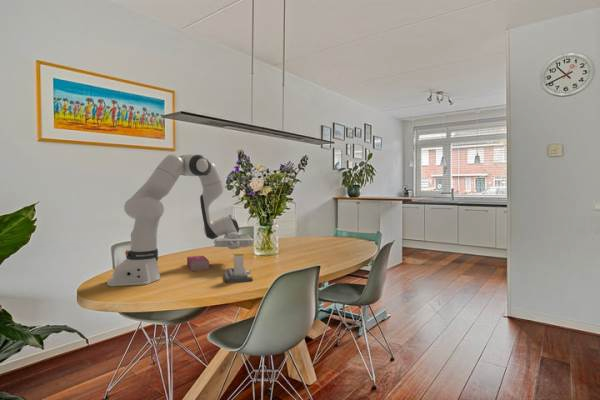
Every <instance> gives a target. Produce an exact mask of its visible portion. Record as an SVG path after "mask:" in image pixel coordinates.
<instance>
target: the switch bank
mask: <svg viewBox="0 0 600 400" xmlns="http://www.w3.org/2000/svg"><path fill="white" fill-rule="evenodd" d="M223 273H224V278H225V283H241V282H242V283H243V282H252V281H253V277H252V275H251V274H252V273H251V272H250V270H249V269H245V267H243V275H239V276H234V267H232V268H228V270H223Z"/></svg>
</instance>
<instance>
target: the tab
mask: <svg viewBox="0 0 600 400" xmlns="http://www.w3.org/2000/svg"><path fill="white" fill-rule="evenodd" d="M233 268H234V276H239V275H243V268H244V252H243V251H234V252H233Z"/></svg>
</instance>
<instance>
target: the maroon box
mask: <svg viewBox="0 0 600 400" xmlns="http://www.w3.org/2000/svg"><path fill="white" fill-rule="evenodd" d="M186 264H187V267H188V268H189V270H191V271H203V270H210V260H209V259H208V258H207V257H206V256H205V255H191V256H187V258H186Z"/></svg>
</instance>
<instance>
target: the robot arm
mask: <svg viewBox="0 0 600 400" xmlns="http://www.w3.org/2000/svg"><path fill="white" fill-rule="evenodd" d="M180 176H189V177H198V178H199V180H200V183H201V185H202V193H201V195H200V196H199V202H200V209H201V215H202V220H203V221H202V222H203V231H204V235H205V236H206V238H208V239H210V240H213V244H214V247H215V248H228V249H229V250H237V249H240V248H249V247H254V239H253V238H252V237H251V236H250V235H248V234H241V233H239V232H240V227H239V224H238V221H237V219H236V218H235V216H233V215H231V214H227V215H225V216H222V217H220V218H216V219H214V220H213V219H212V220H211V215H210V214H211V213H210V206H211V204H212V203H213V202H214V201H215V200H217V199H218V198H220V197H221V196H222V194H223V193H224V190H225V185H224V180H223V179H222V175H221V173H220V171H219V169H218V167H217V165H216V164H215V162H212V161H209V159H208V158H207V157H205V156H204V155H202V154H186V155H184V154H183V155H180V156H178V155H176V154H168V155H167V156H166V157H164V158H163V159H162V160H161V162H160V163H159V164H158V165H157V167H155V169H154V170H153V172H152V174H151V175H150V176H149V178H148V179H147V180H146V182H145V183H144V184H143V185H141V187H140V188H139V189H138V190H137V191H136V192H134V194H133V195H132V196H131V197H130V198H128V199H126V201H125V202H124V206H123V208H124V212H125V214H126V215H127V216H128V217H130V218H131V219H134V224H133V229H132V231H131V232H130V249H128V250H126V251H124V254H125V260H123V261H122V262H120V264H118V265H117V266H116V267H115V268H114V269H113V273H112V276H111V277H110V278H109V279H107V282H106V284H107V286H108V287H122V286H123V287H126V286H139V285H140V286H142V285H148V284H150V283H154V282H158V281H159V280H160V279H161V274H160V269H159V265H158V264H159V263H158V260H159V251H158V250H159V249H158V247H157V246H158V241H157V238H158V236H157V235H158V228H159V223H160V220H161V217H162V216H163V214H164V211H165V207H164V205H163V203H162V202H161V200H162V199H163V198H164V197H166V196H167V195H168V194H170V192H171V190H172V188H173V186H175V184H176V182H177V181H178V180H179V178H180ZM221 236H224V237H223V238H219V237H221Z"/></svg>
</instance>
